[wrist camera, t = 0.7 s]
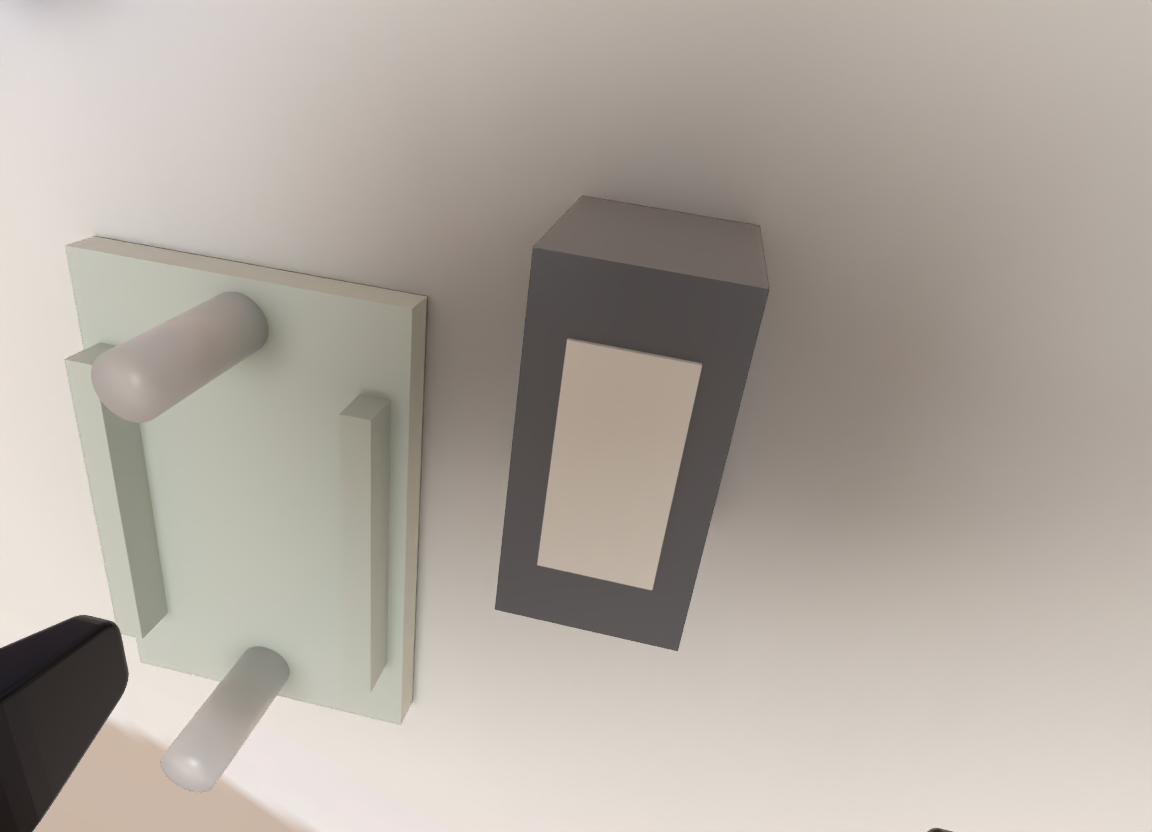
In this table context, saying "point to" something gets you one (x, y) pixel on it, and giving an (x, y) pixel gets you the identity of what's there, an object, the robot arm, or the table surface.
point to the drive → (626, 414)
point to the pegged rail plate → (252, 481)
